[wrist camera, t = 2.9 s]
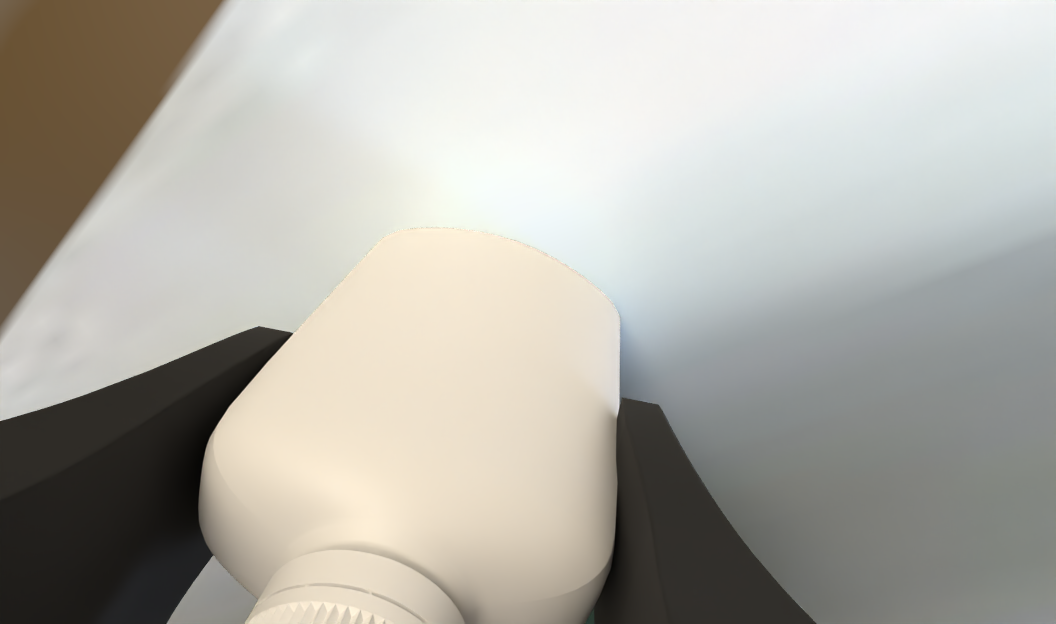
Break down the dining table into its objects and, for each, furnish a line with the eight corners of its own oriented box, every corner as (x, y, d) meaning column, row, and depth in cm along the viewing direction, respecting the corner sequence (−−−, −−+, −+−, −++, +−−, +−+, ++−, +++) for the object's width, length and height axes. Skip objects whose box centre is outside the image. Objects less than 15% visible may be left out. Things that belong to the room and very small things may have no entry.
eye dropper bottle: (512, 431, 17) (323, 1196, 6) (343, 275, 16) (-256, 911, 5) (648, 331, 15) (704, 1149, 5) (472, 147, 14) (-17, 698, 3)
